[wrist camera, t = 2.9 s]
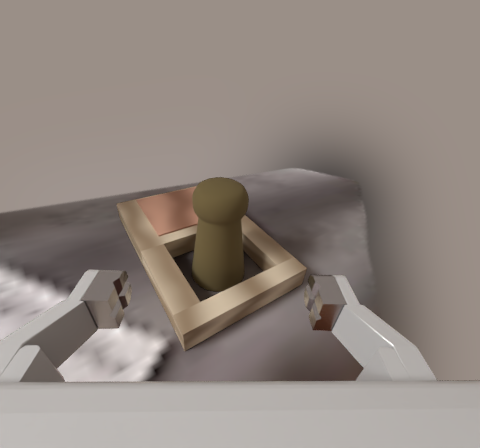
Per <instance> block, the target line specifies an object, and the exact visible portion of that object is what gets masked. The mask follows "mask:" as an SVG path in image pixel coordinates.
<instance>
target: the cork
mask: <svg viewBox="0 0 480 448" xmlns="http://www.w3.org/2000/svg"><path fill="white" fill-rule="evenodd" d="M248 201H249V199H248V194H247V192H246V189H245V188H244V186H243V185H242V184H241V183H239V182H237V181H235V180H232V179H229V178H222V177H219V178H218V177H216V178H210V179H207V180H204V181H202V182H200V183H199V184H198V185H197V187H196V188H195V190H194V192H193V196H192V203H193V209H194V212H195V214H196V215H197V217H198V225H197V233H196V240H195V248H194V256H193V263H192V277H193V279H194V281H195V282H196V283H197V284H198V285H199V286H200V287H202V288H204V289H206V290H209V291H215V292H219V291H224V290H226V289H229V288H231V287H233V286H235V285H237V284H239V283H240V282H241V281H242V279H243V277H244V256H243V240H242V224H241V219H242V218H243V216H244V215H245V213H246V211H247V208H248Z"/></svg>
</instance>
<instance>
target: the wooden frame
mask: <svg viewBox="0 0 480 448" xmlns="http://www.w3.org/2000/svg"><path fill="white" fill-rule="evenodd" d="M196 187H197V186H194V187H189V188H185V189H180V190H176V191H171V192H167V193H162V194H158V195H153V196H149V197H144V198H140V199H135V200H131V201H126V202H121V203H117V208H118V212H119V216H120V219H121V221H122V223H123V226H124V228H125V230H126V232H127V234H128V236H129V238H130V240H131V242H132V244H133V246H134V248H135V250H136V252H137V254H138V256H139V258H140V260H141V262H142V264H143V266H144V269H145V271H146V273H147V275H148V277H149V279H150V281H151V283H152V285H153V287H154V289H155V291H156V293H157V295H158V297H159V299H160V301H161V303H162V305H163V307H164V309H165V312H166V314H167V316H168V318H169V320H170V322H171V324H172V326H173V328H174V330H175V332H176V334H177V336H178V338H179V340H180V342H181V344H182V346H183V348H184V350H185V351H186V350H188V349H189V348H191V347H193V346H195V345H196V344H198V343H200V342H202V341H203V340H205V339H207V338H209V337H210V336H212V335H214V334H216V333H217V332H219V331H221V330H223V329H224V328H226V327H228V326H230V325H231V324H233V323H235V322H237V321H238V320H240V319H242V318H244V317H245V316H247V315H249V314H251V313H252V312H254V311H256V310H258V309H259V308H261V307H263V306H265V305H266V304H268V303H270V302H272V301H273V300H275V299H277V298H279V297H280V296H282V295H284V294H286V293H287V292H289V291H291V290H293V289H294V288H296V287H298V286H300V285H301V284H302V282H303V279H304V276H305V273H306V270H307V268H306V267H305V266H304V265H303V264H301V263H300V262H299V261H298V260H297V259H296V258H294V257H293V256H292V255H291V254H290V253H289V252H287V251H286V250H285V249H284V248H283V247H282V246H280V245H279V244H278V243H277V242H276V241H275V240H273V239H272V238H271V237H270V236H269V235H268V234H266V233H265V232H264V231H263V230H262V229H261V228H259V227H258V226H257V225H256V224H255V223H254V222H252V221H251V220H250V219H249V218H248V217H247V216H245V215H244V216H243V218H242V219H241V224H242V240H243V250H244V251H245V252H246V253H247V255H248V256H249V257H250V258H251V259H252V260H253V261H254V262H255V263H256V264H257V265H258V266H259V267H260V268H261V269H262V270H263V271H264V272H262V273H260V274H258V275H256V276H253V277H251V278H249V279H247V280H245V281H243V282H241V283H239V284H237V285H235V286H233V287H231V288H229V289H226V290H224V291H222V292H220V293H218V294H216V295H214V296H212V297H210V298H208V299H206V300H204V301H202V302H200V301H199V299H198V298H197V296H196V294H195V293H194V291H193V290H192V288H191V287H190V285H189V283H188V282H187V280H186V279H185V277H184V275H183V274H182V272H181V271H180V269H179V268H178V266H177V264H176V263H175V261H174V260H173V257H176V256H179V255H181V254H184V253H187V252H190V251H192V250H194V248H195V240H196V233H197V225H198V217H197V215H196V214H195V212H194V209H193V203H192V196H193V192H194V190H195V188H196Z"/></svg>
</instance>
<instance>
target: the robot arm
mask: <svg viewBox="0 0 480 448" xmlns="http://www.w3.org/2000/svg"><path fill="white" fill-rule="evenodd" d="M127 278H128V275H127V272H126V271H113V270H88V271H86V272H85V273H84V275H83V276H82V278H81V279H80V281H79V282H78V284H77V285H76V287H75V288H74V290H73V291H72V293H71V294H70V296H69V297H68V299H67V300H66V301H61V302H60V303H58V304H57V305H55V306H54V307H52V308H50V309H49V310H47V311H46V312H44V313H43V314H41V315H40V316H38V317H36V318H35V319H33V320H32V321H30V322H29V323H27V324H25V325H24V326H22V327H21V328H19V329H18V330H16V331H15V332H13V333H11V334H10V335H8V336H7V337H5V338H4V339H2V340H1V341H0V448H480V380H478V381H477V380H476V381H470V380H469V381H438V380H437V379H436V377H435V376H434V374H433V372H432V371H431V369H430V368H429V366H428V364H427V363H426V361H425V360H424V358H423V356H422V355H421V353H420V352H419V350H418V348H417V347H416V346H415V345H414V344H412V343H411V342H410V341H408V340H407V339H406V338H405V337H403V336H402V335H401V334H400V333H398V332H397V331H396V330H395V329H393V328H392V327H391V326H389V325H388V324H387V323H386V322H384V321H383V320H382V319H380V318H379V317H378V316H377V315H375V314H374V313H373V312H371V311H370V310H369V309H368V308H366V307H365V306H364V305H360V304H359V302H358V300H357V298H356V296H355V294H354V292H353V290H352V288H351V286H350V284H349V283H348V281H347V279H346V277H345V276H344V275H310V276H309V279H308V283H309V285H308V286H307V287H306V288H305V292H304V300H305V305H306V308H307V309H308V310H309V311H310V314H309V319H310V322H311V326H312V329H313V330H325V331H332V333H333V334H334V335H335V336H336V337H337V338H338V340H339V341H340V342H341V343H342V344H343V345H344V346H345V348H346V349H347V350H348V351H349V352H350V353H351V354H352V355H353V357H354V358H355V359H356V360H357V361H358V362H359V363H360V364H361V366H362V367H363V368H364V369H363V370H362V372H361V373H360V375H359V376H358V377H357V379H356V381H173V382H64V381H65V380H64V378H63V376H62V375H61V374H60V372H59V371H58V370H57V368H58V367H59V366H60V365H61V364H62V363H63V362H64V361H66V360H67V359H68V358H69V357H70V356H71V355H72V354H73V353H74V352H75V351H76V350H77V349H78V348H79V347H80V346H81V345H82V344H83V343H84V342H85V341H87V340H88V339H89V338H90V337H91V336H92V335H93V334H94V333H95V332H96V331H97V330H98V329H111V328H119V326H120V324H121V321H122V319H123V317H124V312H123V309H124V308H125V307H127V306H128V304H129V302H130V299H131V293H132V292H131V285H130V283H128V282H127Z"/></svg>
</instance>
